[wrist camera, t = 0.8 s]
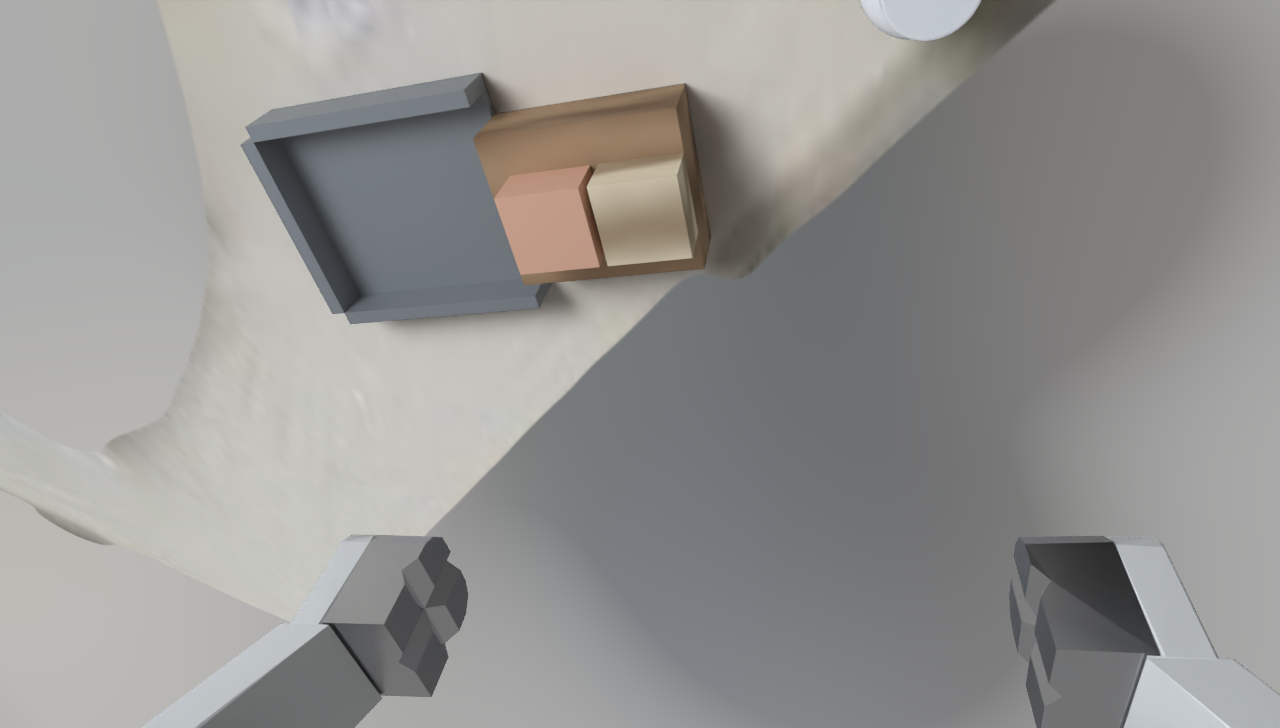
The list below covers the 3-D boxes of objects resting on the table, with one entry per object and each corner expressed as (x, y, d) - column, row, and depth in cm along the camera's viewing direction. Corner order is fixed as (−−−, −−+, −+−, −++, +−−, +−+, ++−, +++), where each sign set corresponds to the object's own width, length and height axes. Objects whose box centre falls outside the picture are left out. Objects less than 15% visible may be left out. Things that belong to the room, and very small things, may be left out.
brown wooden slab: (494, 113, 46) (472, 138, 43) (684, 83, 43) (675, 108, 40) (540, 254, 52) (524, 285, 49) (710, 236, 49) (704, 268, 46)
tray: (259, 112, 49) (231, 129, 46) (481, 73, 44) (463, 89, 42) (357, 302, 57) (338, 325, 55) (550, 284, 53) (539, 308, 51)
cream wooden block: (598, 163, 43) (586, 186, 40) (683, 152, 41) (676, 175, 39) (617, 240, 45) (607, 266, 43) (698, 232, 44) (692, 258, 42)
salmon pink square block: (510, 176, 44) (493, 198, 42) (589, 165, 43) (577, 188, 40) (534, 249, 47) (520, 275, 45) (610, 241, 46) (599, 267, 43)
